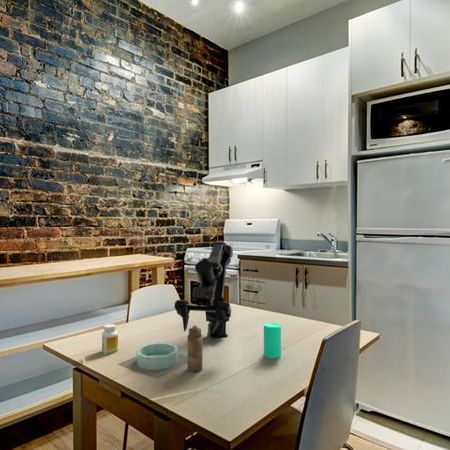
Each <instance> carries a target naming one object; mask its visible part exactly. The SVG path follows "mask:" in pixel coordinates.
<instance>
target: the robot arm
mask: <svg viewBox="0 0 450 450" xmlns="http://www.w3.org/2000/svg"><path fill="white" fill-rule="evenodd" d="M233 252H234V250H233V248H232V246H231V245H228V244H227V243H226V242H224V241H215V242H213V244H212V248H211V251H210V254H209V255H208V257H203V258H202V259H201V260H200V261H198V262H197V263H196V264H195V265H194V270H195V273H196V276H197V279H198V281H199V286H193V290H192V298H193V302H194V303H195V304H193V303H192V304H190V303H189V301H188V300H187V299H177V300H175V302H174V306H173V307H174V308H175V309H174V310H175V311H176V313H177V315H179V316H180V318H182V325H183V327H182V328H183V331H184V332H186V331H187V329H188V324H189V321H190V311H193V312H195V311H196V312H198V311H199V312H205V322H208V324H207V335H208V337H211V339H218V338H219V339H220V338H225V337H228V336H229V335H228V334H227V322H230V318H231V316H232V308H231V303H230V302H229V301H225V299H224V294H225V285H226V275H227V274H226V273H227V267H228V266H229V265H230V263H231V261H232V257H233Z"/></svg>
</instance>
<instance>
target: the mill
mask: <svg viewBox="0 0 450 450" xmlns="http://www.w3.org/2000/svg"><path fill="white" fill-rule="evenodd" d="M187 356H188V363H187V372H190V373H192V374H193V373H200V372H202V371H203V334H202V329H201V328H200V327H198V326H197V325H193V326H192V327H190V328H189V329H188V335H187Z"/></svg>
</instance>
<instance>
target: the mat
mask: <svg viewBox="0 0 450 450" xmlns="http://www.w3.org/2000/svg"><path fill="white" fill-rule="evenodd" d="M184 365H188V355H185V354H181V353H179V352H178V361H177V363H176V364H175V365H173V366H171V367H169V368H165V369H160V370H146V369H143V368H141V367H139V366H138V365H137V355H136V356H134V357H132V358H129V359H126V360H124V361H122V362H120V363H117V366H121V367H124V368H127V369H129V370H132V371H135V372H136V373H137V372H138V373H140V374H144V375H146V376H149V377H151V378H154V379H160V378H161V377H163V376H165V375H167V374H169V373H171V372H173V371H175V370H177V369H179V368H181V367H183V366H184Z"/></svg>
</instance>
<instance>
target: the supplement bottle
mask: <svg viewBox="0 0 450 450" xmlns="http://www.w3.org/2000/svg"><path fill="white" fill-rule="evenodd" d="M116 328H117V325H116V324H112V323H110V324H109V323H108V324H105V325H104V326H103V330H104V331H103V332H102V334H101V353H102V354H103V355H113V354H114V355H115V353H118V352H119V332H118V331H117V330H116Z"/></svg>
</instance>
